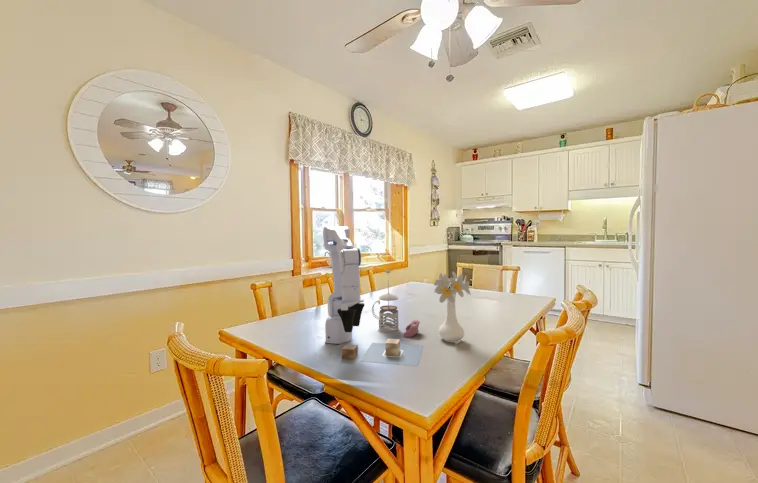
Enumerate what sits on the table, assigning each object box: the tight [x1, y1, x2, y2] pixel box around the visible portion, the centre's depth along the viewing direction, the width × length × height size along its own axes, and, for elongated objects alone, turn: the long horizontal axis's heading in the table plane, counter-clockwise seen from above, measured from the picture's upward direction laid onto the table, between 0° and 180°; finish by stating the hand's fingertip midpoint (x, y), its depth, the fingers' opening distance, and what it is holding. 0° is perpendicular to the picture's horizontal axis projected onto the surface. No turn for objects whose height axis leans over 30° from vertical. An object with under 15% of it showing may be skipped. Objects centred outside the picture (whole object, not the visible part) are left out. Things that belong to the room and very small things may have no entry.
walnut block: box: [341, 343, 359, 360], centre depth 100 cm, size 4×4×4 cm
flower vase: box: [433, 271, 472, 345], centre depth 112 cm, size 13×18×25 cm
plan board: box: [359, 342, 424, 367], centre depth 102 cm, size 18×16×1 cm
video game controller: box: [402, 319, 421, 338], centre depth 121 cm, size 10×5×7 cm, turn 169°
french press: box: [371, 269, 402, 334], centre depth 126 cm, size 10×12×25 cm
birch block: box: [385, 338, 401, 356], centre depth 101 cm, size 4×4×4 cm
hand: (352, 328), depth 99 cm, fingers open, 7 cm apart
